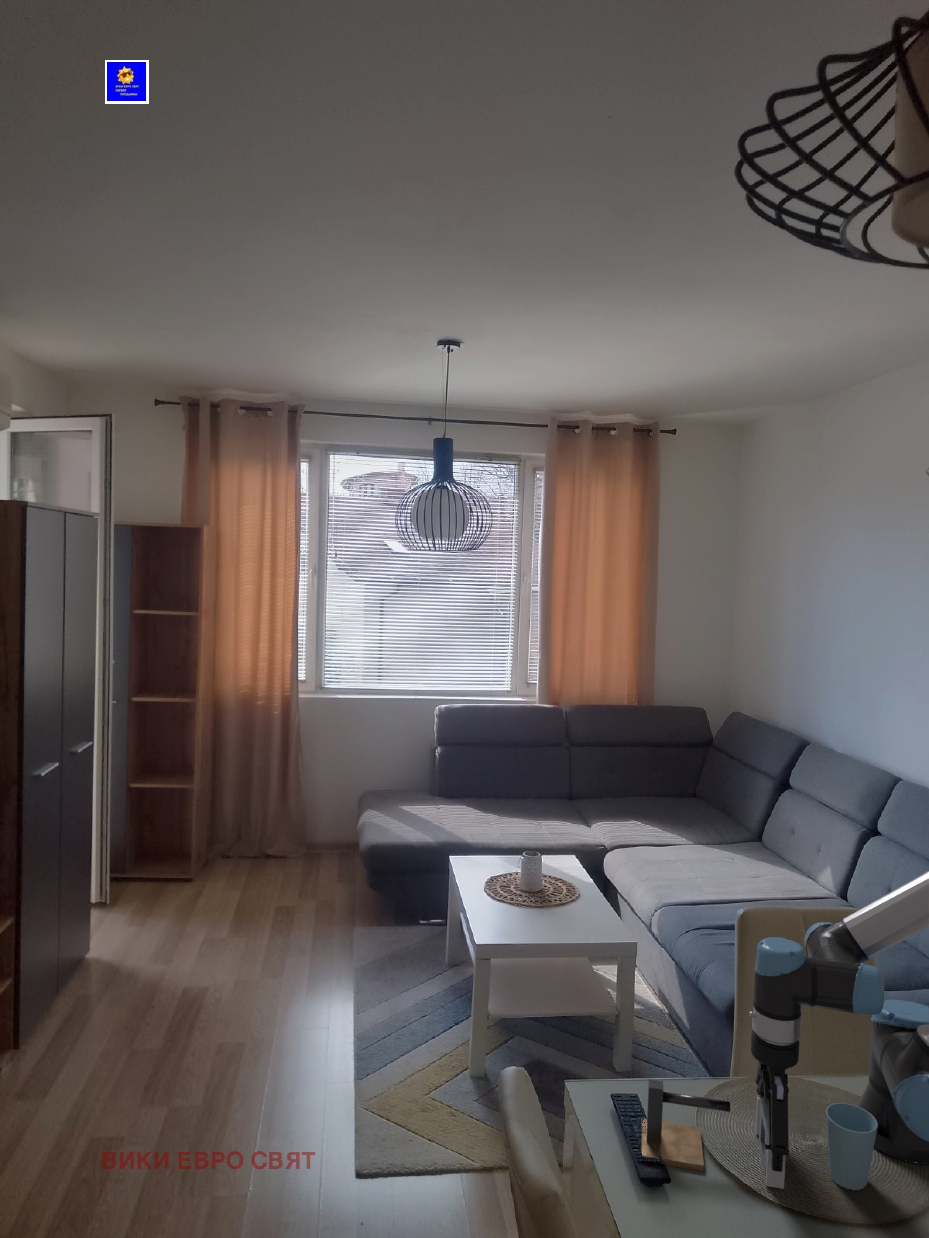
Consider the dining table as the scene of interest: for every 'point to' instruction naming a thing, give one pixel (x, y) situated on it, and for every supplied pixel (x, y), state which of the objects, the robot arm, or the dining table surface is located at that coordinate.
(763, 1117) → the link
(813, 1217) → the dining table surface
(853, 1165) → the cup
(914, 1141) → the robot arm
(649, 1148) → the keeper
